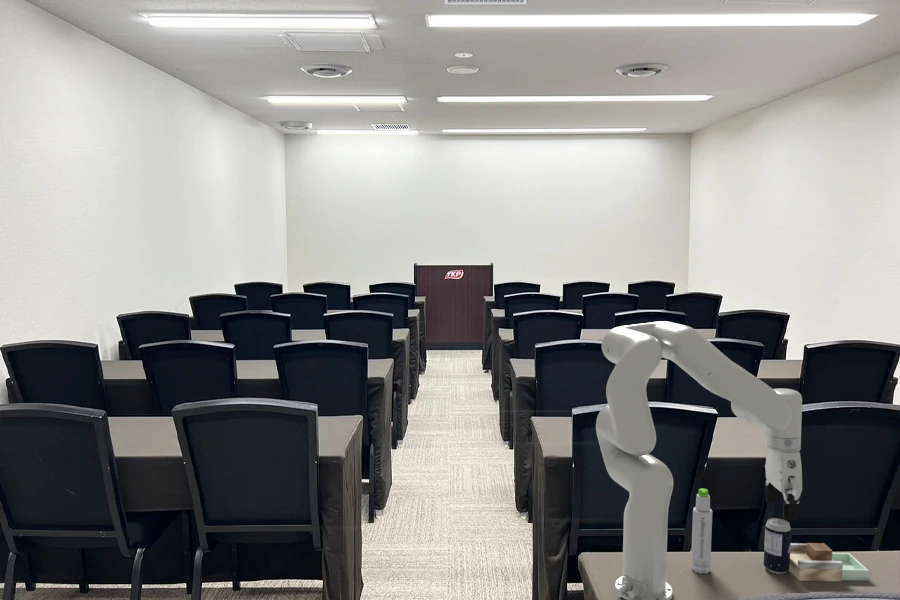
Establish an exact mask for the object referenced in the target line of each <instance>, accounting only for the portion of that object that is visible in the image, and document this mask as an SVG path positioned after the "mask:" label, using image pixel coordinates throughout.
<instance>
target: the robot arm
mask: <svg viewBox="0 0 900 600" xmlns="http://www.w3.org/2000/svg"><path fill="white" fill-rule="evenodd" d="M601 352H602V354H603V355H604V357H605V358H606V359H607V360H608V361H609V362H611V363H613V364H615V366H614V368H613V369H612V372H610V375H609V378H608V380H607V383H606V387H605V390H606V391H605V392H606V393H605V395H606V401H607V405H605V406H604V407H603V408H602V409H600V411H599V412H598V414H597V416H596V417H597V418H596V421H595V432H596V436H597V440H598V444H599V447H600V452H601V455H602V458H603V463H604V465H605V468H606V471H607V473H608V475H609V477H610V478H611V480H613V481H614V482H615V483H616V484H618V485H619V486H620V487H621V488H624V489H625V490H626V491H627V492H629V493H628V494H629V497H628V501H627V502H626V504H625V508H624V510H623V511H624V512H623V533H622V535H623V538H622V539H623V541H622V542H623V544H622V573H621V574H622V575H621V576H620V577H618V578H617V579H616V580H615V583H614V586H615V587H614V588H615V589H614V595H615V596H616V597H617V598H618V599H619V598H623V600H672V598H673V594H674V592H673V588H672V586H671V585H670V584H669V583H668V582H667V555H668V552H667V551H668V521H669V519H668V517H669V507H670V502H671V496H672V493H673V489H674V478H673V474H672V472H671V470H670V469H669V468H668V466H667V465H666V463H664V462H663V461H661V460H660V459H658V458H656V457H655V456H653V455H652V454H650V453H651V452H652V451H653V450H654V448H655V446H656V443H657V434H656V433H657V432H656V427H655V425H654V420H653V417H652V412H651V409H650V405H649V400H648V396H647V395H648V394H647V385H648V382H649V380H650V378H651V376H652V375H653V373H654V372H655V371H656V369H657V368H658V366H659V365H660V363H661V362H662V358H663V359H667V360H670V361H672V362H673V363H675V365H677V366H678V367H679V368H681V370H683V371H684V372H685V373H687V375H689V376H690V377H692V378H693V379H694V380H695V381H696V382H697V383H698V384H699V385H700V386H702V387H703V388H704V389H706V390H708V391H709V392H710V393H712V394H714V395H717V396H718V397H721V398H722V399H725V400H727V401H729V402H730V408H731V412H732V413H733V414H734V416H736V417H737V418H738V419H740V420H741V421H745V422H747V423H749V424H752V425H755V426H757V427H761V428H762V429H765V447H766V456H765V464H764V468H765V474H764V476H765V479H766V480H765V502H766V503H767V504H769V503H770V504H779V503H780V501H781V493H782V495H783V500H784V502H782V519H783V520H785V521H788V520H789V521H790V520H791V521H792V520H795V521H797V520H798V517H799V504H800V500H801V494H802V492H803V472H802V471H803V469H802V458H801V452H800V451H801V449H802V447H801V444H802V418H803V413H802V412H803V410H802V409H803V397H802V394H801V393H800V392H799V391H797V390H796V389H792V388H784V387H783V388H780V387H779V388H772V387H771V386H769V384H767V383H765V382H764V381H763V380H761V379H760V378H759V377H756V376H755V375H753V374H752V373H750V372H749V371H747V370H746V369H745V368H744V367H741V366H740V365H739V364H737V363H736V362H734V361H732V360H731V359H730V358H728V356H727V355H726V354H724V353H723V352H721V350H720V349H718V348H717V347H716V346H715V345H714V344H713V343H711V341H709V340H708V339H707V338H706V337H705V336H704V335H702V334H701V333H700V332H699V331H698V330H696V329H695V328H693V327H691V326H689V325H685V324H681V323H677V322H673V321H667V320H664V321H663V320H661V321H653V322H646V323H645V322H644V323H636V324H629V325H620V326H616V327H613V328H611V329H610V330H608V331H607V332H606V333H605V334H604V336H603V338H602V340H601ZM789 494H791V495H790V496H788V495H789Z"/></svg>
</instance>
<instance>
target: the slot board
mask: <svg viewBox="0 0 900 600" xmlns="http://www.w3.org/2000/svg"><path fill="white" fill-rule="evenodd" d="M807 543H808V542H807ZM807 543H806V542H805V543H800V542H799V543H798V542H794V543H793V542H791V547H790V567H789V570H788V571H790V572H791V573H792V574H793V576H794V577H796V579H797V580H798V581H799V582H800V581H801V582H802V581H803V582H804V581H805V582H811V581H812V582H842V581H843V580H842V568H843V563H842V562H841V561H833V560H832V561H812V560H811V559H810V558H809V557H808V556H807Z"/></svg>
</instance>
